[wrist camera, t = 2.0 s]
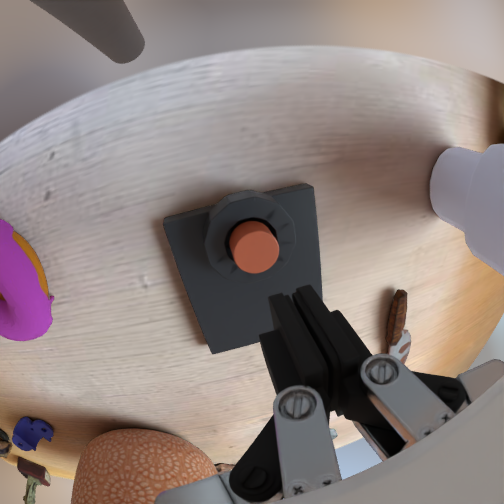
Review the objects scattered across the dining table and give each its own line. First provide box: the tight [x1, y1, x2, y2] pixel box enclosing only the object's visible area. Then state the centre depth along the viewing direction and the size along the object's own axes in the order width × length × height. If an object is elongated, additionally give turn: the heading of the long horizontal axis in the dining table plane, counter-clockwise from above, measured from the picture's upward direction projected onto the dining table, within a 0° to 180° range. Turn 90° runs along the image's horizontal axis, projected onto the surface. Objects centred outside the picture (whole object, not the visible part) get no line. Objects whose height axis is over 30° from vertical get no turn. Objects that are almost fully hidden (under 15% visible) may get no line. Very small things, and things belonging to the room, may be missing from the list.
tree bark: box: [215, 463, 235, 475], centre depth 37 cm, size 6×12×2 cm, turn 36°
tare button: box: [229, 221, 279, 273], centre depth 16 cm, size 3×3×2 cm
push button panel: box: [163, 183, 323, 354], centre depth 19 cm, size 13×10×3 cm
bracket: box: [12, 417, 53, 451], centre depth 24 cm, size 9×5×3 cm, turn 110°
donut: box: [0, 219, 54, 341], centre depth 14 cm, size 10×10×5 cm
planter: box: [71, 428, 218, 504], centre depth 21 cm, size 21×21×19 cm
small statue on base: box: [17, 457, 50, 504], centre depth 27 cm, size 10×8×15 cm
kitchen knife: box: [386, 290, 411, 364], centre depth 30 cm, size 21×2×5 cm
